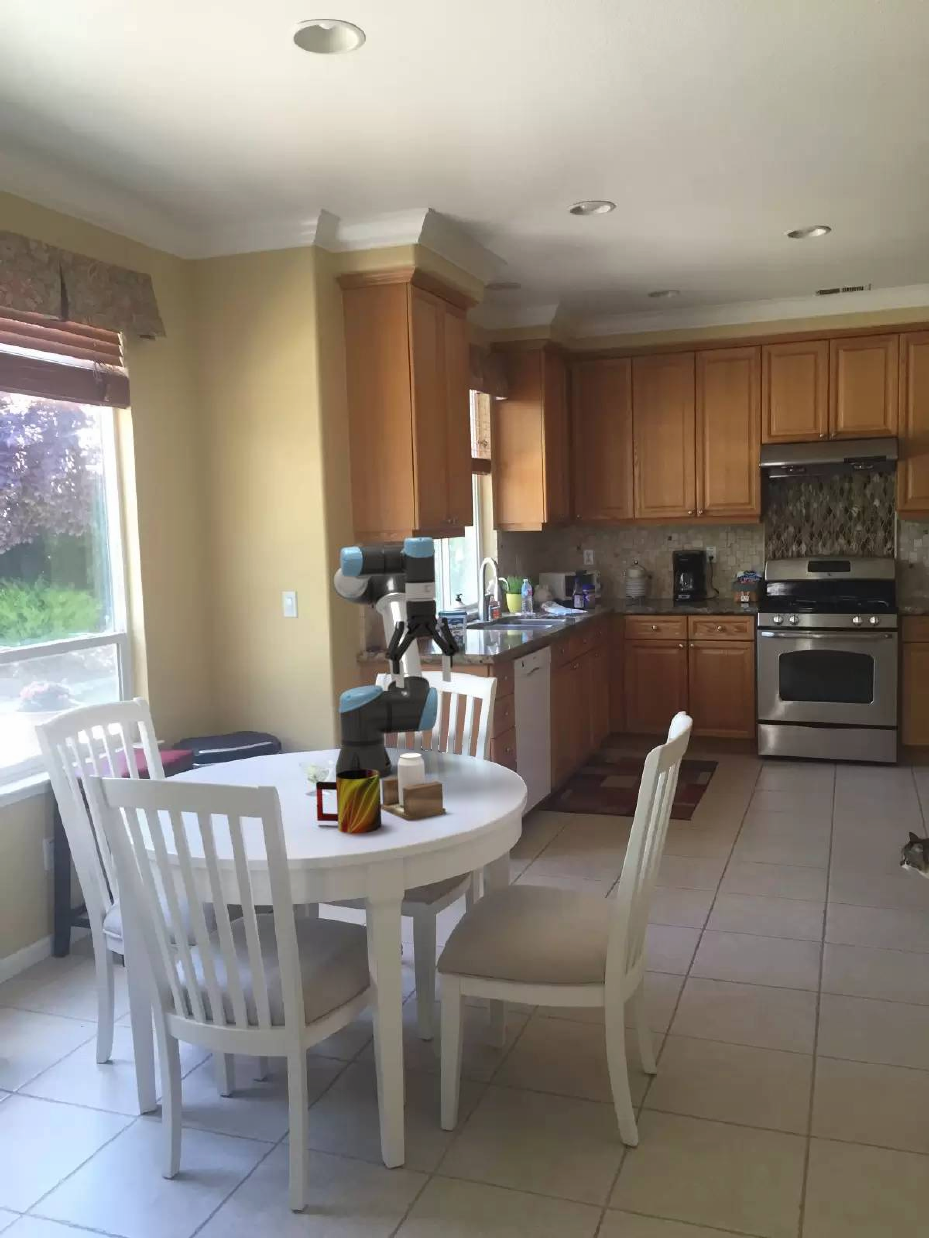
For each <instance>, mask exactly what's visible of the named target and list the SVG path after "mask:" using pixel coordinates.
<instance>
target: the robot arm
mask: <svg viewBox="0 0 929 1238" xmlns="http://www.w3.org/2000/svg"><path fill="white" fill-rule="evenodd" d="M403 541H404V542H403V545H383V546H381V545H380V546H351V547H343V548H342V549H341V550H340V557H339V558H340V568H339V569H338V570H337V571H336V573H335V575H334V577H333V580H332V581H333V582H332V585H333V588H334V589H333V590H334V591H335V593H336V594H337V595H338V596H339V597H340V598H341V599H342V600H345V601H346V602H348V603H351V604H354V605H361V606H367V605H368V606H369V605H370V606H371V605H372V606H373V605H375V609H376V611H377V613H379V614H380V615H382V620H383V627H384V628H383V629H384V635H385V641H386V648H387V649H386V652H385V655H384V658H385V659H387V660H388V663H389V669H390V677H391V682H390V683H389V684H388V686H387V690H384V689H383V687H382V685H377V684H375V685H365V686H359V687H355V688H351V689H348V690H345V691H344V692H343V693H342V694H341V695H340V697H339V709H338V712H339V719H340V720H339V722H340V723H339V724H340V725H339V726H340V727H339V728H340V751H339V753H338V757H337V759H336V760H337V761H336V764H335V775H336V774H338V773H340V772H342V771H347V770H354V769H371V770H376V771H378V772H379V773H380V778H384V777H387V776H388V775H391V774H392V773H393V768H392V762H391V759H390V755H389V754H388V750H387V749H386V745H385V734H399V733H400V734H401V733H413V732H417V733H420V732H423V731H430V730H432V729H433V728H434V727H435V726H436V723H437V718H438V717H437V716H438V709H439V708H438V704H439V703H438V702H439V701H438V699H439V698H438V696H439V695H438V690H437V688H436V687H433V686H430V682H429V680H428V679H427V678H426V677H424V676H423V672H422V665H421V659H420V653H419V646H418V641H417V638H423V637H426V638H428V637H430V638H431V639H432V640H433V642H435V644H436V645H437V646H438V648H439V649H440V650H441V651H442V653H444V655H441V666H442V669H441V671H442V672H441V673H442V682H446V683H447V682H448V683H450V682H451V681H452V680H451V679H452V678H451V677H452V675H451V672H452V671H451V669H452V668H454V667H453V666H454V664H453V663H454V662H453V660H454V659H453V658H454V657H453V656H455V655H456V653H460V648H459V646H458V643H457V642H456V639H455V637H454V635H453V633H452V630H451V629H450V626H449V623H448V621H449V620H448V618H447V617H444V616H439V617H438V618H437V601H436V600H435V598H436V597H437V595H436V594H437V593H436V565H435V563H436V560H435V559H436V557H435V555H436V549H435V541H434V538H432V537H406V538H405V540H403ZM437 626H438V627H439V630H440V632H441V634H442V636H441V635H440V633H439V631H438V630H437V629H436V627H437ZM442 637H443V638H444V639H445V640H444V639H443V638H442Z"/></svg>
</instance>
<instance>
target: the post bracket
mask: <svg viewBox="0 0 929 1238" xmlns="http://www.w3.org/2000/svg"><path fill="white" fill-rule="evenodd" d="M381 790H382V792H381V793H382V795H381V796H382V797H381V798H382V803H381V810H383V811H385V812H388V813H390V814H392V815H394V816H397V817H399V818H401V819H403V820H405V821H413V820H418V819H419V820H420V819H422V818H423V819H424V818H427V817H433V816H437V815H442V814H446V808H445V807H444V800H443V799H444V797H443V783H442V782H439V781H431V782H425V784H419V785H414V786H409V787H403V806H402V805H401V804H399V790H398V775H397V776H393V777H392V776H391V777H386V778H382V779H381Z"/></svg>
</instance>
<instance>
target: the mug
mask: <svg viewBox="0 0 929 1238" xmlns="http://www.w3.org/2000/svg"><path fill="white" fill-rule="evenodd" d="M315 786H316V788H315V789H316V818H317V820H316V821H318V822H337V829H338V831H339V832H341V833H345V834H353V835H354V834H356V835H357V834H368V833H372V832H376V831H378V830H380V829H381V828H382V809H381V804H382V802H381V799H382V798H381V777H380V773H379V772H378V771H376V770H371V769H354V770H347V771H342V772H340V773H338V774H336V773H335V781H316V783H315ZM323 790H324V791H336V809H337V811H336V812H337V813H331V812H330V813H327V812H324V807H323V806H324V803H323V802H324V801H323V800H324V799H323Z"/></svg>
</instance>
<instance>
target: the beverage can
mask: <svg viewBox="0 0 929 1238" xmlns="http://www.w3.org/2000/svg"><path fill="white" fill-rule="evenodd" d="M425 771H426V770H425V760H424V759H423V757H422V754H421V753H418V752H407V753H406V752H405V753H402V754H400V755H399V759H398V761H397V776H398V790H399V804H401V805H402V806H403V787H409V786H414V785H419V784H425V783H426V780H425V779H426V778H425V777H426V775H425V774H426V773H425Z"/></svg>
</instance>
